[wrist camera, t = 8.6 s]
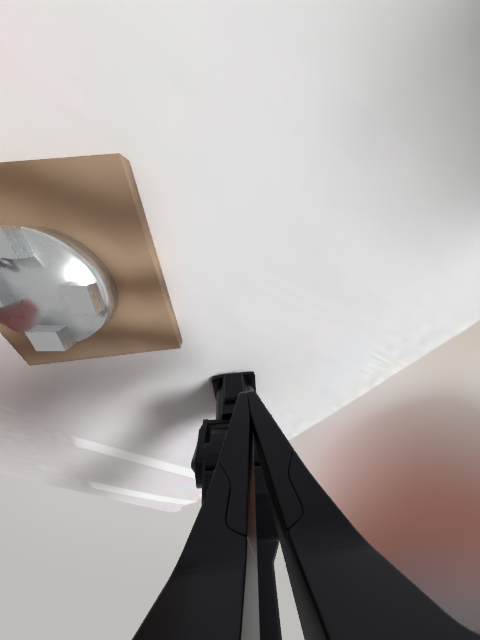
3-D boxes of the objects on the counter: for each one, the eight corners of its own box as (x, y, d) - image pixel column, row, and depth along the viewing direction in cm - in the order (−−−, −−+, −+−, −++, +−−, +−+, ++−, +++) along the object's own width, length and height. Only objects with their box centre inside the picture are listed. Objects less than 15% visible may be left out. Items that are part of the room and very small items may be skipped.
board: (182, 341, 22) (179, 348, 21) (41, 357, 22) (28, 366, 20) (129, 160, 14) (118, 152, 12) (-105, 179, 13) (-144, 173, 12)
